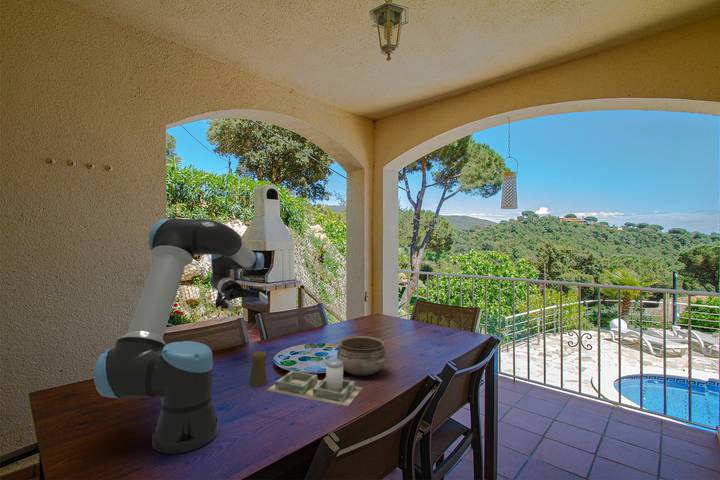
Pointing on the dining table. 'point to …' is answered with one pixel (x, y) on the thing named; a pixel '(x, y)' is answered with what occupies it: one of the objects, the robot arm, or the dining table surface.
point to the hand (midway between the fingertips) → (250, 304)
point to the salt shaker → (334, 375)
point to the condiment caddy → (314, 388)
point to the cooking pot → (362, 355)
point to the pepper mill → (258, 369)
